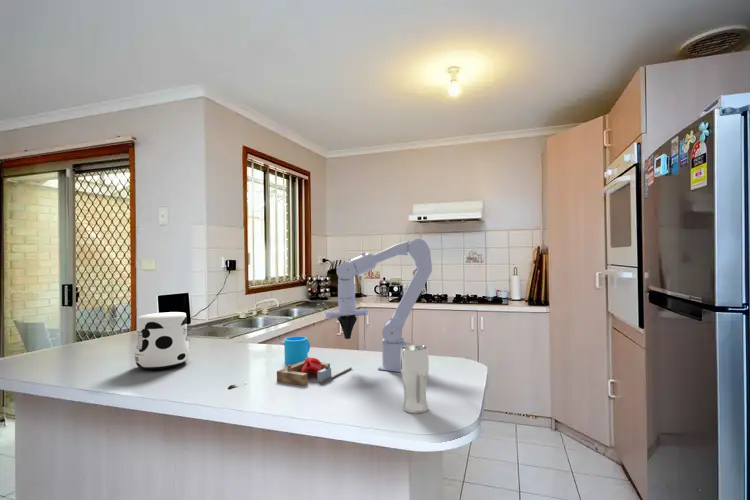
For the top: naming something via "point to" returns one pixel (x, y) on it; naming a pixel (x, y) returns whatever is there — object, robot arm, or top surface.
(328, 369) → the pale blue-grey box
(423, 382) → the beer glass
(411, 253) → the robot arm
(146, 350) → the milk container
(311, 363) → the cap
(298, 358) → the mug
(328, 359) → the top surface
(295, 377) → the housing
